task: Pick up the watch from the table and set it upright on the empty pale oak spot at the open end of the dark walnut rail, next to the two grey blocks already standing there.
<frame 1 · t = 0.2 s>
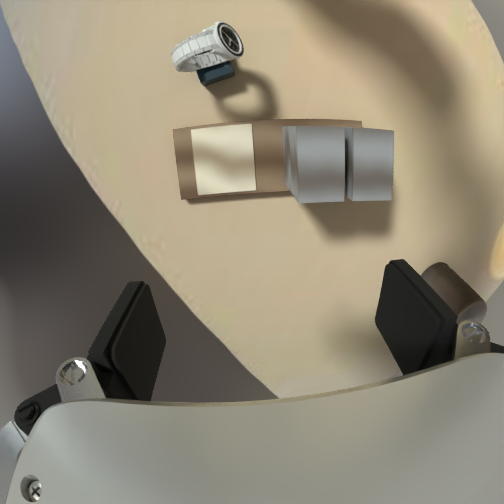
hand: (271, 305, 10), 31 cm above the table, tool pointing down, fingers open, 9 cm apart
rail: (271, 154, 37), on the table
pillar candle: (432, 282, 48), on the table
watch: (213, 64, 31), on the table
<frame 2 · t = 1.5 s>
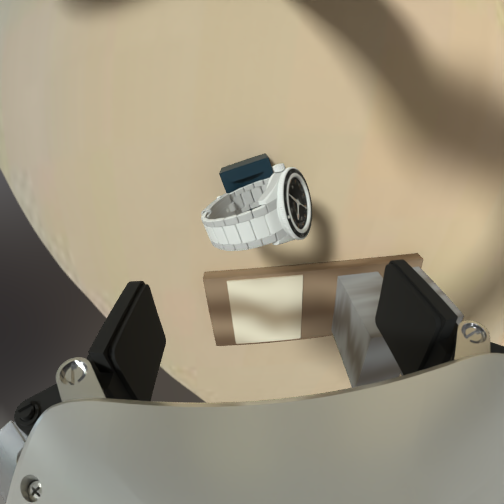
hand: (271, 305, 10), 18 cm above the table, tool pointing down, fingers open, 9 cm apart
rail: (319, 299, 33), on the table
watch: (253, 185, 27), on the table
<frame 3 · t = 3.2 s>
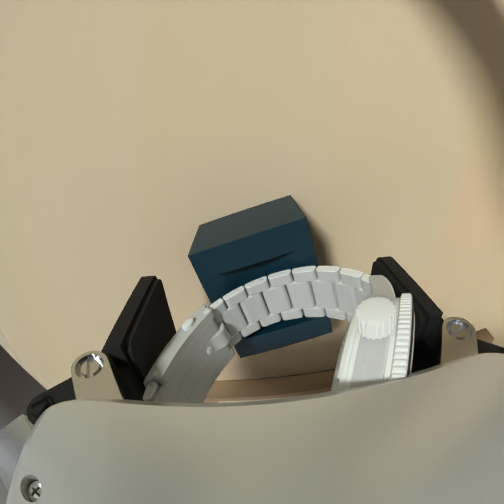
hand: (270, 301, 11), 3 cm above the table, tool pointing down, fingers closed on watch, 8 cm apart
rail: (354, 401, 19), on the table
watch: (264, 258, 14), on the table, touching gripper
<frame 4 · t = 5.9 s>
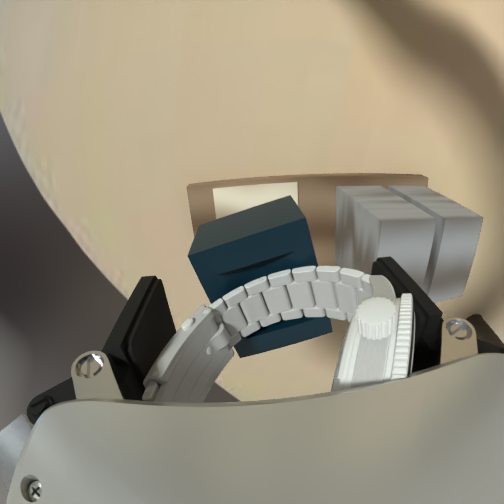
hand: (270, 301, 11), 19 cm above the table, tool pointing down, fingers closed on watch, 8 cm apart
rail: (318, 219, 29), on the table
pillar candle: (464, 333, 40), on the table
watch: (264, 258, 14), point 15 cm above the table, touching gripper
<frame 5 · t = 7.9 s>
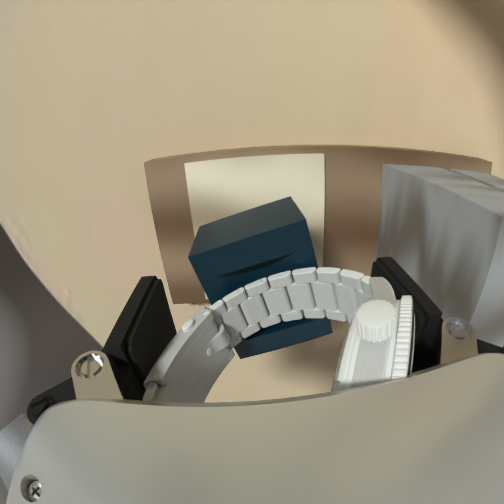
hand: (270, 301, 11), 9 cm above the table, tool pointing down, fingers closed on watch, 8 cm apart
rail: (351, 216, 18), on the table
watch: (264, 259, 14), point 5 cm above the table, touching gripper
when the fingers open (6 cm above the table, at t = 9.1 s): watch drops 1 cm, resting on rail.
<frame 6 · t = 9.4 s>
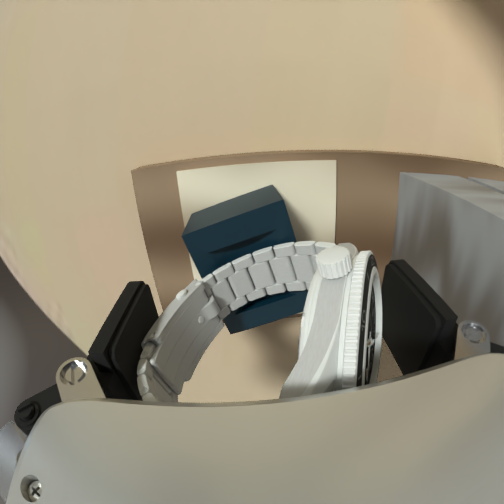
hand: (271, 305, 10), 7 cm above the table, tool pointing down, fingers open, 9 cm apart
rail: (363, 230, 17), on the table
watch: (250, 243, 15), point 2 cm above the table, touching gripper, rail
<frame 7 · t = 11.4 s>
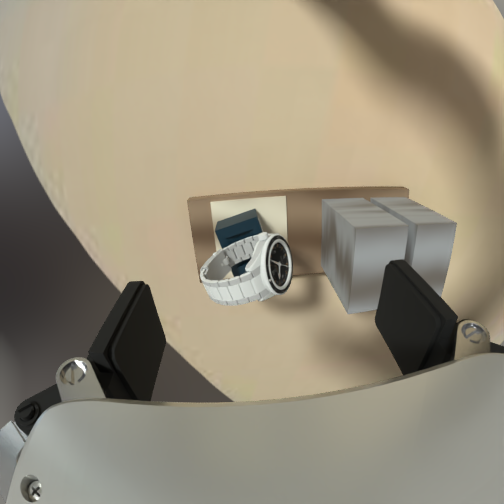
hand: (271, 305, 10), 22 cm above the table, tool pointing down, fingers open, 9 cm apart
rail: (306, 230, 32), on the table
watch: (245, 236, 31), point 1 cm above the table, touching rail
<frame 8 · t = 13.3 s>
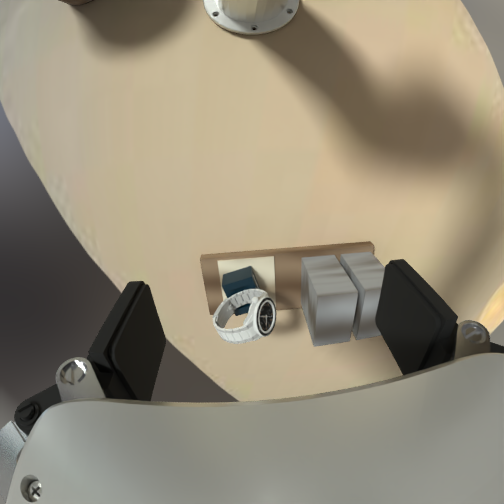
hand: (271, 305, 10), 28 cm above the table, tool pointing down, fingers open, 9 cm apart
rail: (289, 277, 43), on the table
watch: (243, 284, 41), point 1 cm above the table, touching rail
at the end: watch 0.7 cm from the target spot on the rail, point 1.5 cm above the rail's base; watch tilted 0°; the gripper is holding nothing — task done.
